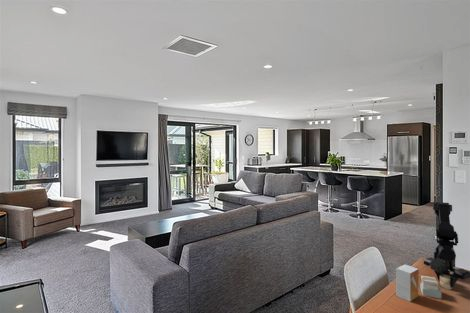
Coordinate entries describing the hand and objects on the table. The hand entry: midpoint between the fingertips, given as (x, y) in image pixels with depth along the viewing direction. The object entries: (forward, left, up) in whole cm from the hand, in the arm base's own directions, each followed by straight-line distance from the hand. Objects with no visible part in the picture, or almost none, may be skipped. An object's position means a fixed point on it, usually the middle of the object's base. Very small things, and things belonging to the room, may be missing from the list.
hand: (446, 284), depth 133 cm
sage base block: (+10, -8, -1) cm, 13 cm away
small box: (+17, -18, -1) cm, 25 cm away
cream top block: (+10, -8, +2) cm, 13 cm away
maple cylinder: (0, 0, -1) cm, 1 cm away
